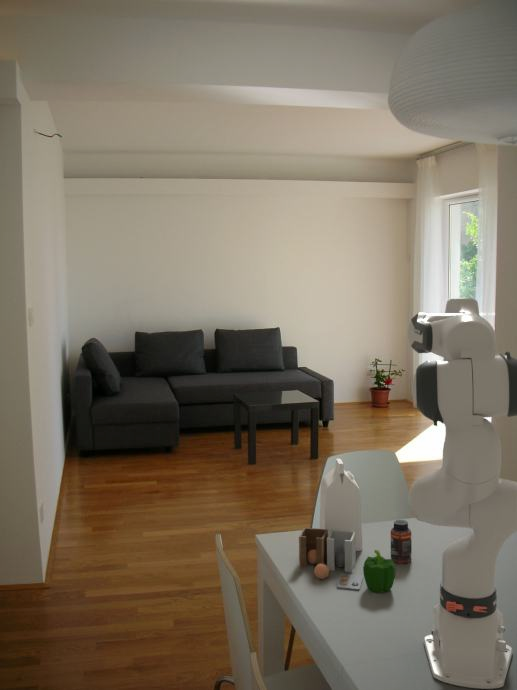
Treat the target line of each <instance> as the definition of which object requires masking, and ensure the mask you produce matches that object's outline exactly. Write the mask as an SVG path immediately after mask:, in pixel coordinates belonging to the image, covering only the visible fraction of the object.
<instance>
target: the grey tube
mask: <svg viewBox="0 0 517 690" xmlns="http://www.w3.org/2000/svg"><path fill="white" fill-rule="evenodd" d="M338 552H344V553H345V566H344V572H346V573H353V571H354V568H355V565H356V561H357V559H356V558H357V557H356V554H357V551H356V536H355V532H350V531H339V530H331V531H330V534H329V536H328V538H327V563H326V566H327V567H328V569H329V571H335V560H334V558H335V555H336V554H337V553H338Z"/></svg>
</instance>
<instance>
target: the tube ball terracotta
mask: <svg viewBox="0 0 517 690" xmlns="http://www.w3.org/2000/svg"><path fill="white" fill-rule="evenodd" d="M307 561H308V562H309V563H310V564H314V565H315V564H316V565H317V554H316V550H315V549H312V550H310V551H309V552H308V553H307Z"/></svg>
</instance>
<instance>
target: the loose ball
mask: <svg viewBox="0 0 517 690" xmlns="http://www.w3.org/2000/svg"><path fill="white" fill-rule="evenodd" d="M329 573H330V570H329V569H328V567H327V564H326V565H325V564H318V565H317V564H316V566H315V567H314V575H315V577H316V578H317V579H320V580H322V579H323V580H324V579H326V578H327V577H328V576H329Z"/></svg>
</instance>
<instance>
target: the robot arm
mask: <svg viewBox="0 0 517 690" xmlns="http://www.w3.org/2000/svg"><path fill="white" fill-rule="evenodd" d="M407 329H408V330H407V334H408V335H407V336H408V338H407V339H408V341H409V344H410V347H411V348H412V349H413V351H415V352H416V353H417V354H429V353H432V354H433V355H437V356H439V357H440V358H441V357H442V358H443V360H426V361H425V362H422V363H421V364H419V365H418V366H417V368H416V369H415V371H416V372H415V373H414V375H413V378H412V380H411V394H412V398H413V401H414V403H415V404H416V408H417V409H418V411H419V412H420V413H421V415H423V416H424V417H425V418H427V419H429V420H430V421H432V422H433V426H436V427H438V422H440V423H441V424H443V425H444V426H445V427H444V428H445V437H444V443H443V448H442V464H441V465H442V466H441V467H440V468H439V469H437V470H436V471H435V472H432V473H430V474H427V475H423V476H419V477H417V478H416V479H415V480H414V481H413V482H412V484H411V486H410V487H409V491H408V499H407V501H408V507H409V509H410V511H411V513H412V515H413V516H414V518H415V519H416V520H417V521H419V522H423V523H426V524H431V525H434V526H439V527H449V528H451V527H452V528H461V529H462V528H463V529H471V531H470V532H469V533H468V534H467V535H466V536H464V537H461V538H458V539H456V540H454V541H452V542H450V543H449V544H448V545H447V546H446V548H444V550H443V553H442V562H441V563H442V565H441V567H442V571H441V572H442V574H441V577H442V578H441V579H442V580H441V582H440V585H439V586H440V587H439V602H438V603H437V604H435V606H433V608H432V609H433V611H432V612H433V614H432V615H433V617H432V629H431V634H428V635H426V636H424V637H423V646H424V648H425V652H426V656H427V660H428V663H429V666H430V667H429V668H430V670H431V674H432V677H433V678H434V679H436V680H438V681H441V682H442V683H445V684H446V683H447V684H450V685H453V686H458V687H462V688H463V687H464V688H469V689H470V688H471V689H481V690H484V689H486V690H493V689H499V688H502V687H504V686H505V681H506V678H507V674H508V670H509V667H510V663H511V659H512V656H513V648H512V646H510V645H508V644H507V641H506V640H504V636H503V634H505V631H506V630H505V629H506V627H505V626H504V615H503V613H501V611H500V610H499V609H498V607H497V602H498V595H497V589H496V587H495V586H496V585H495V584H496V583H495V580H496V566H497V560H498V556H499V553H500V551H501V549H502V548H503V545H505V542H507V540H508V539H509V538H510V537H511V536H512V535H513V534H515V533H516V532H517V481H514V480H511V479H505V478H502V477H500V475H501V468H502V459H503V457H502V456H503V455H502V454H503V453H502V445H501V444H502V443H501V439H500V434H499V433H498V430H497V428H496V426H494V424H493V422H491V421H489V420H488V419H487V418H495V417H503V416H507V417H508V418H511V417H516V416H517V358H514V356H513V357H512V356H511V352H510V351H508V350H506V351H505V353H504V354H502V353H498V352H497V335H496V332H495V329H494V328H493V326H492V324H491V323H490V322H489V321H488V320H487V319H485V318H484V317H483V316H481V315H480V311H479V304H478V300H477V299H474V298H473V297H472V298H471V297H455V298H453V297H452V298H450V299H448V300H447V302H446V305H445V311H444V312H438V313H437V312H436V313H434V312H421V311H420V312H417V314H414V315H413V316H412V318H411V319H410V322H409V325H408V328H407Z"/></svg>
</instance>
